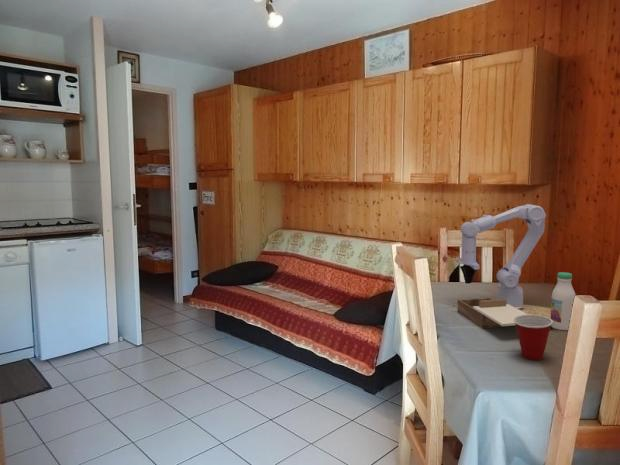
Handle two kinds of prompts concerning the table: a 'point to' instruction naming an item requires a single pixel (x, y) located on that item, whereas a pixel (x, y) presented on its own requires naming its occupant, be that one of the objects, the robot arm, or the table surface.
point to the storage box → (476, 313)
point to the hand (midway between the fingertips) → (468, 283)
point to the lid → (499, 311)
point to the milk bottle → (562, 301)
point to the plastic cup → (533, 335)
